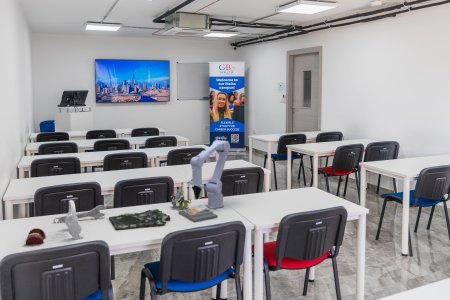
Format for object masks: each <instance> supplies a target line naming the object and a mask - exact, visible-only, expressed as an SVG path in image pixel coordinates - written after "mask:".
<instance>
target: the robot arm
mask: <svg viewBox="0 0 450 300" xmlns="http://www.w3.org/2000/svg"><path fill="white" fill-rule="evenodd" d="M230 148H231V144H230V142H229V141H228V140H218V139H215V140H214V141H213V142H212V144H211V145H210V146H209V147H208V148H207V150H206V149H205V150H202V151H200V153H199V154H197V155H196V156H193V157H191V159H190V161H189V164H190V166H191V170H192V174H191V175H192V177H191V178H192V180H190V181H189V185H190V186H191V189H192V192H193V195H194V198H195V199H199V198H200V195H201V192H202V190H205V192H206V193H207V204H205V205H204V206H205V207H207V208H208V209H210V210H211V209H212V210H213V209H217V208H223V207H224V195H223V193H222V190H223V189H222V187H223V183H222V181H221V178H222V174H223V171H224V169H225V165H226V161H227V159H228V155H229V152H230ZM214 152H216V154H218V157H217V160H216V164H215V167H214V171H213V173H212V176H211V178H210V179H207V183H205V185H204V184H203V182H202V181H203V180H202V176H203V175H202V170H203V168H202V167H203V166H204V164H205V162H206V161H207V160H208V159H209V158H210V155H212V154H213V153H214Z"/></svg>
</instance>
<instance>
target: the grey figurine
mask: <svg viewBox="0 0 450 300" xmlns="http://www.w3.org/2000/svg"><path fill="white" fill-rule="evenodd" d="M76 210H77V209H76V205H75V201H74V200H71V199H70V200H68V212H67V215H66V216H67V217H66V219H65V222H64V223H65V225H66V227H67V232H68V234H69V235H70V236H71V237H72V239H77V240H82V239H84V236H82V235H80V234H81V232H82V225H81V223H80V222H79V219H78V218H77V216H76V214H77V212H76Z"/></svg>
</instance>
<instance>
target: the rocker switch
mask: <svg viewBox="0 0 450 300" xmlns="http://www.w3.org/2000/svg"><path fill="white" fill-rule="evenodd" d="M190 209H191V210H189V211H188V212H189V213H191V214H192V215H193V214H198V213H200V212H203V211H205V210H207V209H208V207H206V206H205V205H203V204H200V205H197V206H195V207H193V208H190Z"/></svg>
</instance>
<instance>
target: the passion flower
mask: <svg viewBox="0 0 450 300" xmlns="http://www.w3.org/2000/svg"><path fill="white" fill-rule="evenodd" d="M175 193H176V192H173V193H172V194H171V196H170V199H171V200H170V201H171V205H172V207H171V208H172V209H173V208H175V207H176V206H177V205H179V211H183V210H186V209H187V208H188V207H189V205H191V203H192V198H191V199H185V195H184V190H182V191H180V192H177V193H176V194H175ZM183 208H184V209H183Z"/></svg>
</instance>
